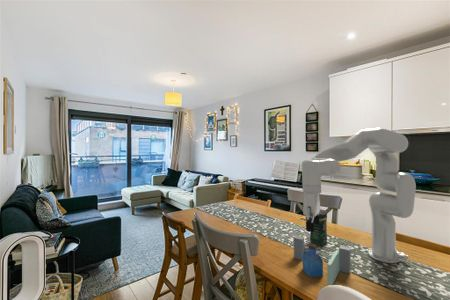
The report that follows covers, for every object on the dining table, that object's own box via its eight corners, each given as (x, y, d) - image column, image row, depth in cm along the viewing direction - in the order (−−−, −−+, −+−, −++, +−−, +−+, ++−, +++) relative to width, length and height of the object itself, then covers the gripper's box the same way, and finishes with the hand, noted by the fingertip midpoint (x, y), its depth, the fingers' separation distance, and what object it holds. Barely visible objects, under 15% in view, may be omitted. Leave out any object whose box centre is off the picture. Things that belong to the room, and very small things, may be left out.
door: (336, 270, 96) (336, 249, 96) (339, 271, 95) (339, 250, 95) (327, 287, 84) (327, 264, 84) (330, 288, 84) (330, 265, 84)
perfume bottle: (302, 268, 98) (302, 242, 98) (316, 268, 99) (316, 241, 99) (308, 276, 92) (308, 248, 92) (322, 276, 92) (322, 248, 92)
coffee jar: (321, 247, 119) (321, 213, 119) (308, 242, 125) (307, 210, 125) (329, 242, 126) (329, 209, 125) (315, 238, 131) (315, 207, 131)
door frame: (350, 270, 96) (350, 247, 96) (349, 273, 94) (349, 250, 94) (295, 255, 110) (295, 235, 110) (294, 257, 108) (293, 237, 108)
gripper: (308, 184, 104) (309, 220, 105) (296, 191, 90) (298, 232, 90) (325, 185, 100) (326, 222, 100) (316, 193, 86) (317, 236, 86)
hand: (313, 227), depth 95 cm, fingers open, 9 cm apart
